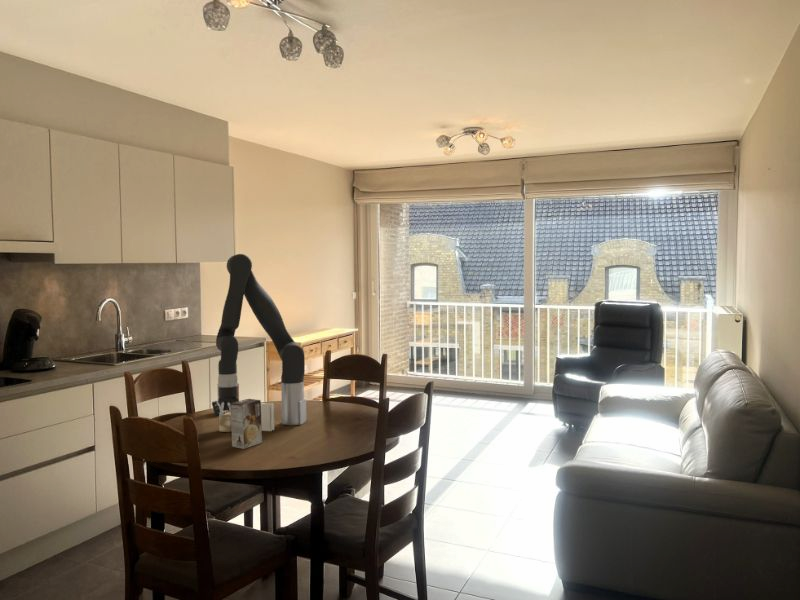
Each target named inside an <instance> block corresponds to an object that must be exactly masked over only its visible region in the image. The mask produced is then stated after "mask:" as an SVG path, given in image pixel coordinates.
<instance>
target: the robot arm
mask: <svg viewBox="0 0 800 600" xmlns="http://www.w3.org/2000/svg"><path fill="white" fill-rule="evenodd" d="M252 268H253V262H252V260H251V258H250V257H249V256H248V255H246V254H244V253H238V254H234V255H232V256H230V257H229V258H228V260H227V262H226V270H227V272H228V273H229V284H228V289H227V290H228V291H227V295H226V298H225V301H224V305H223V309H222V316H221V323H220V325H219V328H218V331H217V335H216V339H215V345H216V348H217V350H219V351H220V359H219V361H218V367H217V369H218V377H217V384H218V391H217V397H218V396H219V400H218V399H217V400H215V401H212V402H211V405H212V408H213V412H214V415H215V417H218V418H219V416H221V415H223V414H226V411H227V410H229V411H230V413H231V403H233V402H237V401H240V399H239V400H238V384H239V381H238V373H237V372H238V368H237V367H238V365H237V360H238V354H239V342H238V339H237V337H235V333H236V331H237V330H238V328H239V326H240V321H241V317H242V308H243V301H244V297H245V300H246V301H247V302H246V303H248V305H249V308H250V309H251V311H252V313H253V315H254V317H255V318H256V319H257V321H258V323H259V324H260V326H261V327H262V328H263V330H264V331H265V333H267V335H268V336H269V338H270V339H271V341H272V342H273V345H274V346H275V349H276V351H277V354H278V355H279V358H280V360H281V363H282V364H281V365H282V366H281V368H282V369H281V378H280V380H281V381H280V382H281V383H280V387H281V390H280V391H281V392H280V393H281V422H282V423H281V424H282V425H285V426H297V425H298V426H299V425H303V424H304V423H306V422H307V399H306V398H305V387H304V385H305V379H304V378H305V372H306V371H305V363H306V362H305V360H306V359H305V358H306V357H305V351H304V349H303V348H302V346H301V345H299V344H297V343H296V342H295V340H294V339H293V338H292V336H291V335H290V333H289V332H288V330H287V328H286V325H285V323H284V319H283V317H282V314H281V312H280V310H279V309H278V307H277V305H276V303H275V302H274V300H273V299H272V297H271V296H270V294H269V293H268V292H267V291H266V290H265V288H263V286H262V285H261V284H260V283H259V282H258V280H257V278H256V276H255V275H254V272H253V270H252ZM219 404H220V406H221V409H220V408H219Z"/></svg>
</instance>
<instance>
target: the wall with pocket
mask: <svg viewBox="0 0 800 600" xmlns="http://www.w3.org/2000/svg"><path fill="white" fill-rule="evenodd" d="M261 426H262V432H272V430H273V431H275V403H274V402H261Z"/></svg>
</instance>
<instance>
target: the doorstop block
mask: <svg viewBox="0 0 800 600" xmlns="http://www.w3.org/2000/svg"><path fill="white" fill-rule="evenodd" d="M218 422H219V423H218V424H219V425H218V429H219V432H226V433H232V426H231V413H230V412H228V413H225V414H223V415H221V416H219V417H218Z"/></svg>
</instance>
